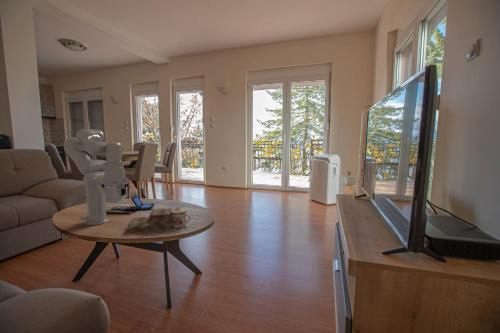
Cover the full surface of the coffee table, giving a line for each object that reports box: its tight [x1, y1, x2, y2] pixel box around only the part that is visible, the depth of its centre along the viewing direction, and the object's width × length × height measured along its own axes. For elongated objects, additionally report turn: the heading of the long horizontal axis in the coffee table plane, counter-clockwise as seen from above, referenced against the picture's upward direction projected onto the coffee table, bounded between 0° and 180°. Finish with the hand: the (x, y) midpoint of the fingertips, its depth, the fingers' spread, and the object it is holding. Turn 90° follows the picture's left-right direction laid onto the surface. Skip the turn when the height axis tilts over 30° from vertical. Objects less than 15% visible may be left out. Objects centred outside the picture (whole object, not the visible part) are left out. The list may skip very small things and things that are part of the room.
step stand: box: [128, 207, 172, 236], centre depth 138 cm, size 22×17×9 cm
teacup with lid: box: [171, 205, 191, 229], centre depth 143 cm, size 12×9×12 cm
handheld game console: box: [131, 194, 155, 212], centre depth 179 cm, size 16×13×9 cm
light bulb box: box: [104, 182, 127, 204], centre depth 134 cm, size 11×7×11 cm, turn 4°
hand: (115, 195), depth 134 cm, fingers closed on light bulb box, 7 cm apart
